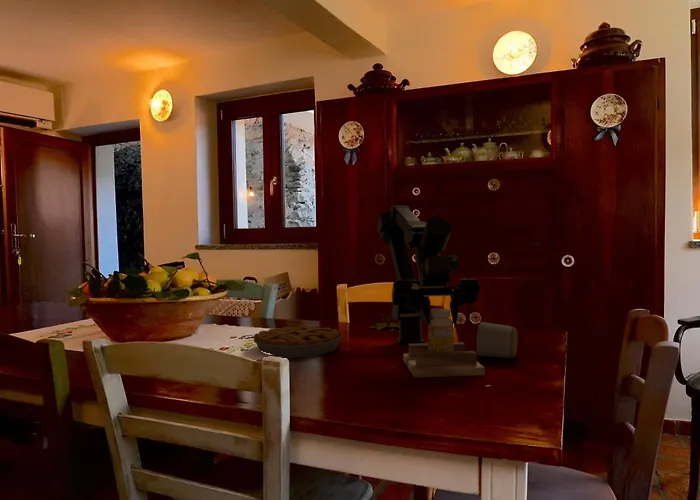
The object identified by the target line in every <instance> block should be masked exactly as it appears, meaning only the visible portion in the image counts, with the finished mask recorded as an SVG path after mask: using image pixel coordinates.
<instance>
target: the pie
mask: <svg viewBox="0 0 700 500" xmlns="http://www.w3.org/2000/svg"><path fill="white" fill-rule="evenodd" d="M342 339H343V335H342V334H341V331H339V330H338V329H336V328H335V327H334V328H330V327H329V326H324V327H322V326H320V327H319V326H318V325H311V326H309V325H304V324H297V325H296V326H290V325H286V326H282V327H281V328H276V327H275V328H270V329H268V330H260V331H259V332H258V333H255V334H254V337H253V343H255V344H256V345H257V347H258V350H259V351H260V350H261V351H263V352H266V353H270V354H274V355H275V356H281V357H280V358H282V357H285V358H284V359H296V358H297V359H298V358H300V359H301V358H311V357H315V356H321V355H325V354H329V353H332V352H334V351H336V350H337V349H338V346H339V344H340V341H341V340H342Z"/></svg>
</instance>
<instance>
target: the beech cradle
mask: <svg viewBox="0 0 700 500" xmlns="http://www.w3.org/2000/svg"><path fill="white" fill-rule="evenodd" d="M465 344H466V343H464V342H463V341H462V342H461V341H458V342H456V341H455V342H454V351H453V352H428V342H425V343H418V344H408V352H407V353H402V360H403V363H404V364H405V366H406V367H407V369H408V371H410V373H411V374H412V376H413V377H414V378H434V377H435V378H438V377H439V378H440V377H461V376H462V377H465V376H468V377H470V376H485V375H486V374H485V366H483V365H482V364H481V363H480V362H478V361H477V360H478V359H477V358H478V353H477V351H474V350H465V349H466V345H465Z"/></svg>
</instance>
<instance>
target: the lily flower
mask: <svg viewBox="0 0 700 500" xmlns="http://www.w3.org/2000/svg"><path fill="white" fill-rule="evenodd" d="M381 317H382V318H381V320H382V321H384V322H383V323H382V322H379V323H378V322H377V323H376V324H373V325H372V326H369V327H368V329H376V330H377V331H380V330H381V329H384V330H386V328H387V330H389V331H394V330H397V329H399V323H395V322H393V321H394V320H395V319H394V318H393V317H392V314H390V315H388V317H387V316H386V315H384V314H383V313H381Z"/></svg>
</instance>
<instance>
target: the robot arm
mask: <svg viewBox="0 0 700 500" xmlns="http://www.w3.org/2000/svg"><path fill="white" fill-rule="evenodd" d="M376 224H377V225H376V229H377V233H379V236H380V240H381V241H382V242H384V243H385V244H386V245H387V246H388V247H389V252H390V257H391V260H392V263H393V268H394V272H395V275H396V277H395V278H396V279H395V280H394V282H392V288H391V289H392V290H391V302H392V303H391V304H393V305H392V308H391V315H392V316H391V317H392V319H394V320H396V321H398V325H399V328H398V329H399V331H398V332H399V336H398V337H396V341H397V342H398V343H399V344H400V345H409V344H420V343H426V341H425V340H424V339H423V337H422V321H423V322H424V323H425V325H426V326H428V325H429V323H430V321H429V320H430V311H431V300H430V297H450V301H449V310H450V316H451V320H452V321H453V325H456V324H457V322H458V321H457V320H458V314H459V307H462V306H463V305H464V304H474V303H475V302H477V299H478V297H479V293H480V290H481V287H482V286H481V283H480V281H479V280H478V278H459V281H458V285H448V283H449V282H450V273H451V272H457V270H459V268H460V264H459V259H458V255H457V254H449V255H448V256H447V255H443V256H442V255H441V253H442V252H444V251H445V250H446V246H447V245H448V241H449V240H450V236H451V234H452V231H453V227H452V225H451V224H450V223H449V222H448V221H447V220H445V219H443V218H440V216H439V215H438V214H436V215H433V214H431V215H429V218H428V220H427V221H421V220H420V218H418V216H416V215H415V214H414V212H412V211H411V207H410V206H409V205H393V206H390V208H389V210H387V211H385V212H384V213H382V214H380V216H379V218H378V220H377V223H376ZM408 249H415V251H414V256H415V259H414V260H415V262H414V263H415V265H416V266H417V272H418V280H417V279H416V276H415V273H414V272H415V271H414V269H413V265H412V261H411V258H410V254H409V251H408Z"/></svg>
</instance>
